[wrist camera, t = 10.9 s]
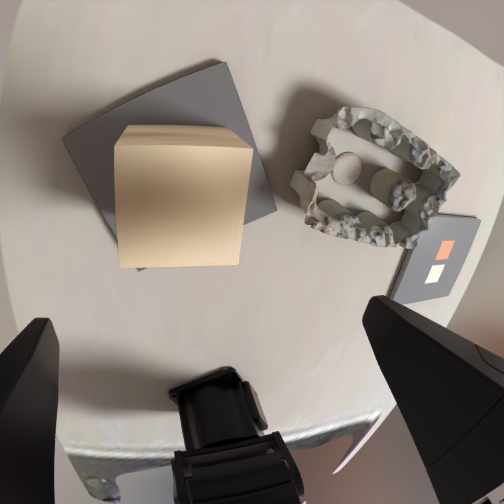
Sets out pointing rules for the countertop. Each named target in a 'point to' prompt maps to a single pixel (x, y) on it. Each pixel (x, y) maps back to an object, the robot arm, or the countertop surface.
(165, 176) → the maple block
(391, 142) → the egg carton
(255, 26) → the countertop surface
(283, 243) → the countertop surface
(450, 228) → the tile
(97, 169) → the charcoal mat
